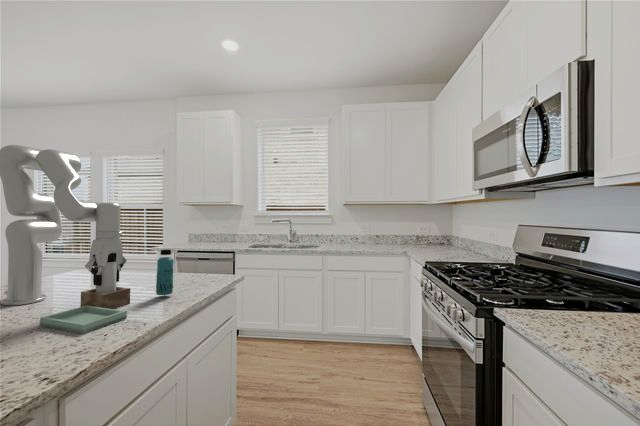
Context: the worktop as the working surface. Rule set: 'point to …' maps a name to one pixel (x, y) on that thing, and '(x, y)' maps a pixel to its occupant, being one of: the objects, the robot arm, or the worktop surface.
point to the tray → (83, 319)
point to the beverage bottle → (164, 274)
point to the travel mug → (108, 275)
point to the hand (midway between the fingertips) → (106, 282)
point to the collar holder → (106, 298)
